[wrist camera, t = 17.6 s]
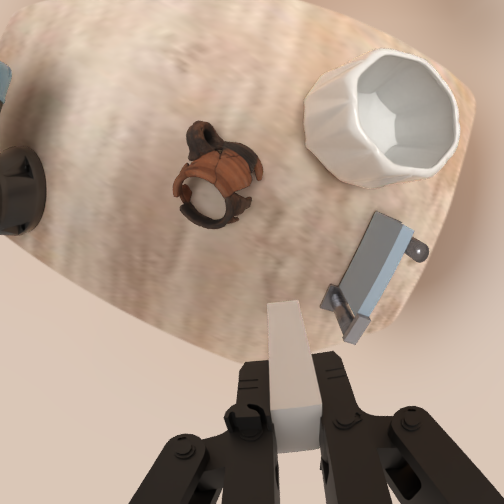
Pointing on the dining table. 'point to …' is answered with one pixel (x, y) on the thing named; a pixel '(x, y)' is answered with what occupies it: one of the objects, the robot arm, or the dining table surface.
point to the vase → (382, 120)
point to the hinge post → (338, 306)
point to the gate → (372, 270)
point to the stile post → (416, 248)
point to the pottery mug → (216, 173)
